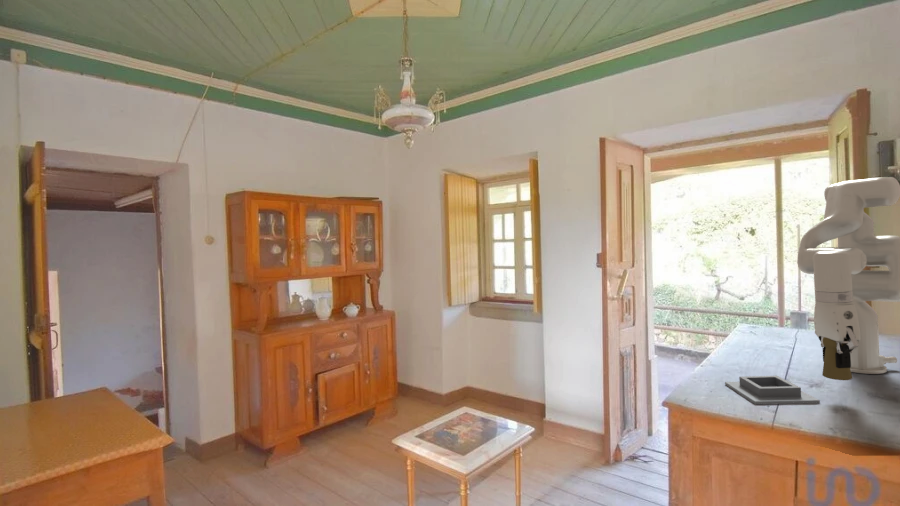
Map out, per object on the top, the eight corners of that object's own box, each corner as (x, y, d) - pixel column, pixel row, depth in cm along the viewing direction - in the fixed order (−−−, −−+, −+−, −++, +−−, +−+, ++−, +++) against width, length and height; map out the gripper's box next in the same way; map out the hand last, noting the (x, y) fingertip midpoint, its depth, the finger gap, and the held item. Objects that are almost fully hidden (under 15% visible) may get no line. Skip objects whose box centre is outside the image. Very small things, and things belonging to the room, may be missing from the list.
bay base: (781, 383, 131) (781, 372, 131) (819, 403, 116) (819, 390, 115) (725, 384, 133) (724, 373, 133) (755, 404, 118) (754, 392, 117)
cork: (816, 374, 119) (814, 334, 119) (836, 371, 120) (834, 332, 119) (837, 381, 113) (835, 339, 113) (858, 378, 114) (856, 337, 113)
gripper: (875, 301, 107) (879, 374, 107) (825, 291, 123) (828, 355, 124) (842, 303, 108) (845, 376, 108) (796, 293, 124) (800, 356, 125)
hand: (836, 364), depth 116 cm, fingers closed on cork, 3 cm apart
